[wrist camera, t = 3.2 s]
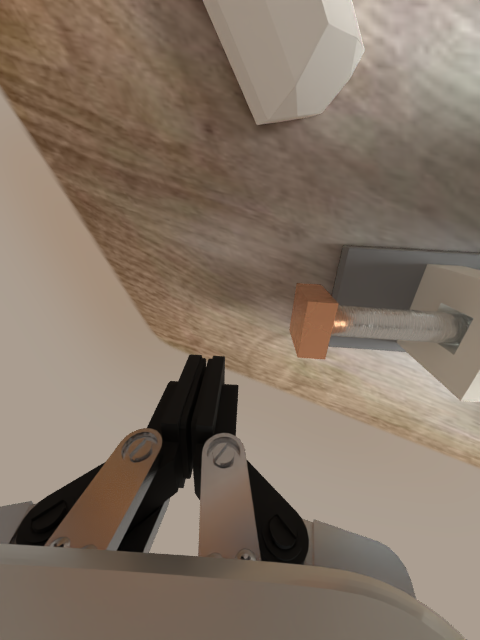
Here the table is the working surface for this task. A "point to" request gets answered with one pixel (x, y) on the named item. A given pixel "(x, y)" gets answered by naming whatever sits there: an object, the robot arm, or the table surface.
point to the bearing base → (384, 283)
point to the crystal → (288, 52)
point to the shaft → (364, 323)
